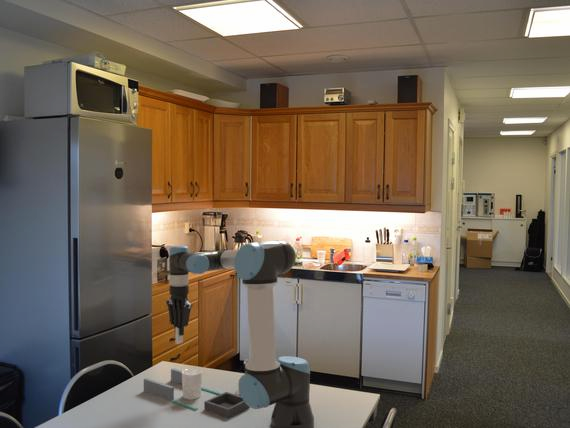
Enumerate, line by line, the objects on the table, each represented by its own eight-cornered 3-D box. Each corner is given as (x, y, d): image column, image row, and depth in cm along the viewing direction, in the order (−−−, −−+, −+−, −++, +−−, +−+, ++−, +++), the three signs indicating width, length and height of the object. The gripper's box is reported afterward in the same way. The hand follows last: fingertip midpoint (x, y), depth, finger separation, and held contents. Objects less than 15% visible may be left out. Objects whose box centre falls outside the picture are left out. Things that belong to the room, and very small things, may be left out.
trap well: (249, 406, 199) (249, 399, 199) (228, 417, 189) (228, 409, 189) (226, 399, 206) (226, 391, 206) (204, 409, 196) (204, 401, 196)
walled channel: (200, 388, 217) (200, 376, 217) (170, 400, 204) (170, 388, 204) (173, 379, 226) (173, 368, 226) (143, 391, 213) (143, 378, 213)
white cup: (180, 394, 211) (180, 369, 210) (199, 391, 214) (199, 367, 213) (183, 401, 204) (183, 376, 203) (203, 398, 206) (203, 373, 206)
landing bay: (226, 396, 209) (226, 394, 209) (195, 410, 196) (195, 408, 196) (203, 388, 217) (203, 387, 217) (171, 401, 203) (171, 400, 203)
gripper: (197, 285, 210) (197, 343, 211) (174, 281, 218) (175, 338, 219) (183, 287, 204) (183, 348, 205) (160, 284, 212) (161, 342, 213)
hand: (179, 342), depth 212 cm, fingers closed
